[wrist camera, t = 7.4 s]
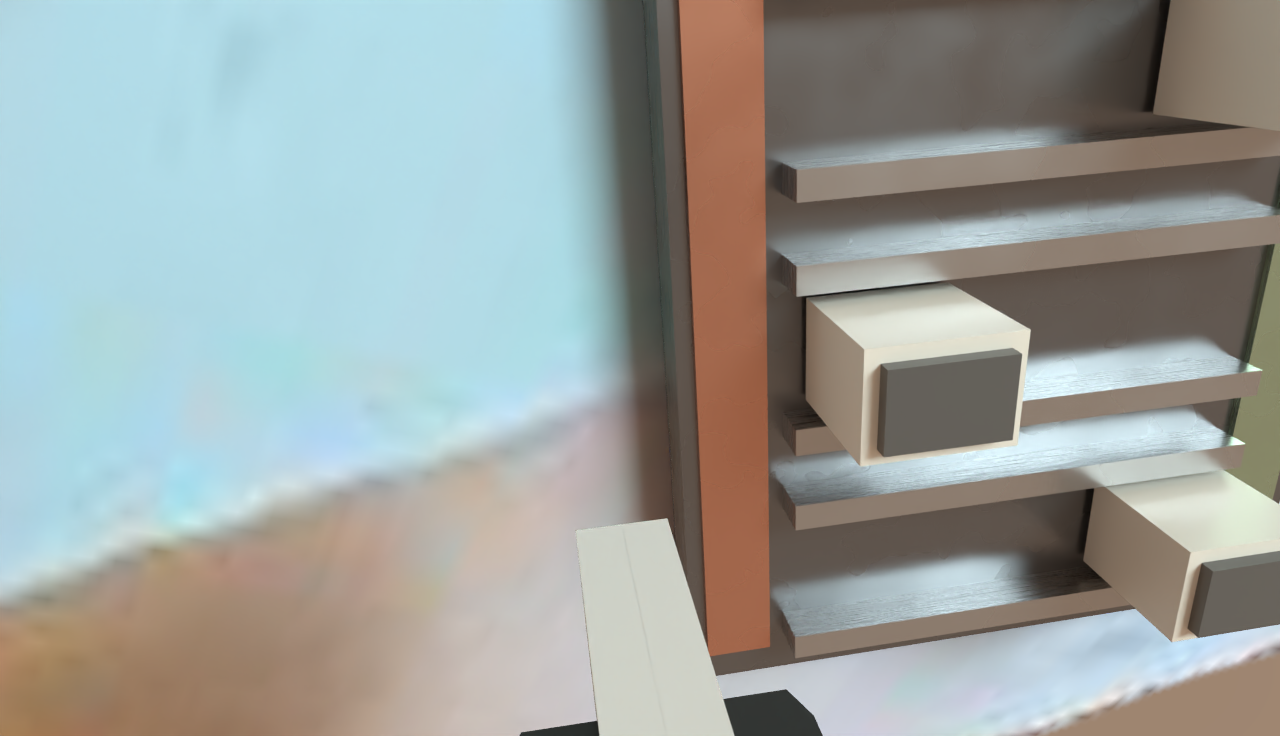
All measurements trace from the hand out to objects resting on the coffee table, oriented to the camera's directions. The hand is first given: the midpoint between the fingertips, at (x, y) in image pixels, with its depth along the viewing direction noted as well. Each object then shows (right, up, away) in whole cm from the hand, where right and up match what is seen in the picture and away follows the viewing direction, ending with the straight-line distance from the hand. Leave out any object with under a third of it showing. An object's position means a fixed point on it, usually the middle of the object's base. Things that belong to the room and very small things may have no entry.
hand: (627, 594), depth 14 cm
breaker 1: (+7, +4, +10) cm, 12 cm away
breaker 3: (+16, -1, +13) cm, 21 cm away
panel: (+11, +6, +12) cm, 17 cm away
